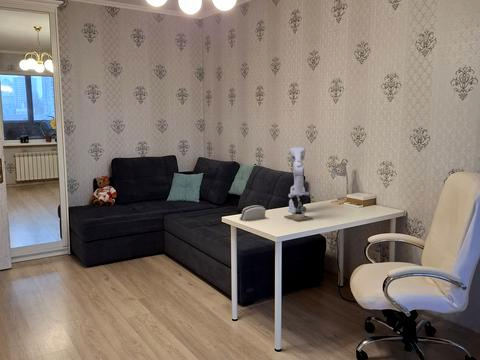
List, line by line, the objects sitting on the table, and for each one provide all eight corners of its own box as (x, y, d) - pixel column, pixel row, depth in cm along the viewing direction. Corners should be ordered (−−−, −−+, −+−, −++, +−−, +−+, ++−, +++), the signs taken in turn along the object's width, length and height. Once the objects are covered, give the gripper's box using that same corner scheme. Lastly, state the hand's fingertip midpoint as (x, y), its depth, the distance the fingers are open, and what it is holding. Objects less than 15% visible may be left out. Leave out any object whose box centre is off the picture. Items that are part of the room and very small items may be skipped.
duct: (284, 217, 273) (284, 212, 273) (299, 215, 279) (299, 210, 279) (297, 221, 262) (297, 216, 261) (313, 219, 268) (313, 213, 267)
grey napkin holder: (261, 216, 278) (263, 203, 274) (264, 220, 274) (267, 206, 270) (238, 219, 270) (241, 205, 266) (242, 223, 266) (244, 209, 262)
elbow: (294, 214, 271) (294, 201, 270) (299, 213, 273) (299, 200, 272) (301, 216, 264) (301, 203, 263) (306, 216, 266) (306, 202, 265)
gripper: (293, 188, 260) (293, 209, 262) (311, 185, 268) (311, 207, 270) (286, 186, 267) (286, 207, 268) (304, 184, 274) (304, 205, 276)
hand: (298, 207), depth 269 cm, fingers closed on elbow, 4 cm apart
